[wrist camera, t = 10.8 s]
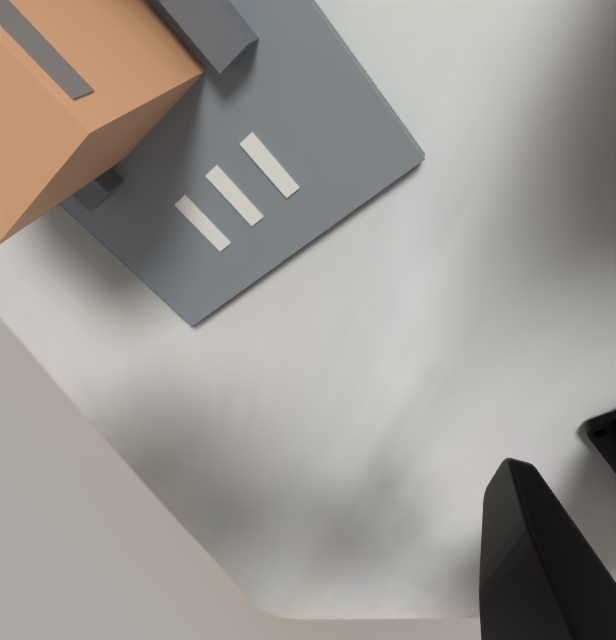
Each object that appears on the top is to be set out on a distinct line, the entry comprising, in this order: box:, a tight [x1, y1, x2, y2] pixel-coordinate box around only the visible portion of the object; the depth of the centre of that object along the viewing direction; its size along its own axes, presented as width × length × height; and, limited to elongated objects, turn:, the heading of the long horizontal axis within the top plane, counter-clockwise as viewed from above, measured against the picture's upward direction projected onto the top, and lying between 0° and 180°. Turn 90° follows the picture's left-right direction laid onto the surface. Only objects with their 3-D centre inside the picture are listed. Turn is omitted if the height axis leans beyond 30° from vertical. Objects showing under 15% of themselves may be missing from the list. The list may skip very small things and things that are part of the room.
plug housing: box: [0, 0, 206, 244], centre depth 13 cm, size 5×5×7 cm
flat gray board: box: [59, 0, 425, 326], centre depth 16 cm, size 14×12×3 cm
